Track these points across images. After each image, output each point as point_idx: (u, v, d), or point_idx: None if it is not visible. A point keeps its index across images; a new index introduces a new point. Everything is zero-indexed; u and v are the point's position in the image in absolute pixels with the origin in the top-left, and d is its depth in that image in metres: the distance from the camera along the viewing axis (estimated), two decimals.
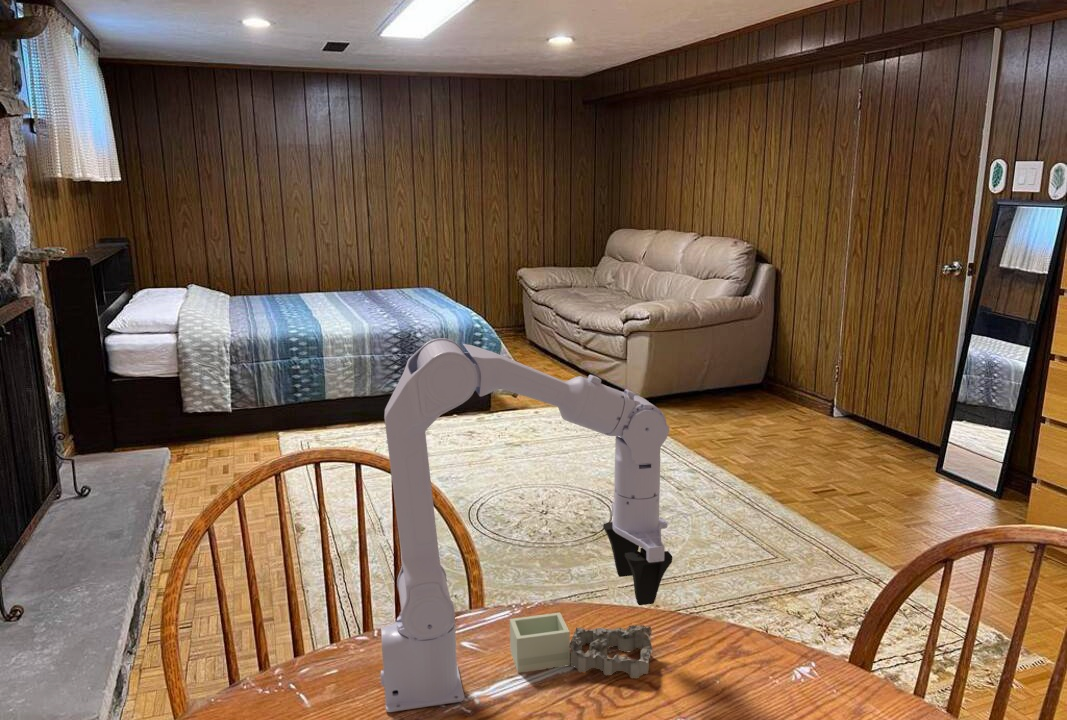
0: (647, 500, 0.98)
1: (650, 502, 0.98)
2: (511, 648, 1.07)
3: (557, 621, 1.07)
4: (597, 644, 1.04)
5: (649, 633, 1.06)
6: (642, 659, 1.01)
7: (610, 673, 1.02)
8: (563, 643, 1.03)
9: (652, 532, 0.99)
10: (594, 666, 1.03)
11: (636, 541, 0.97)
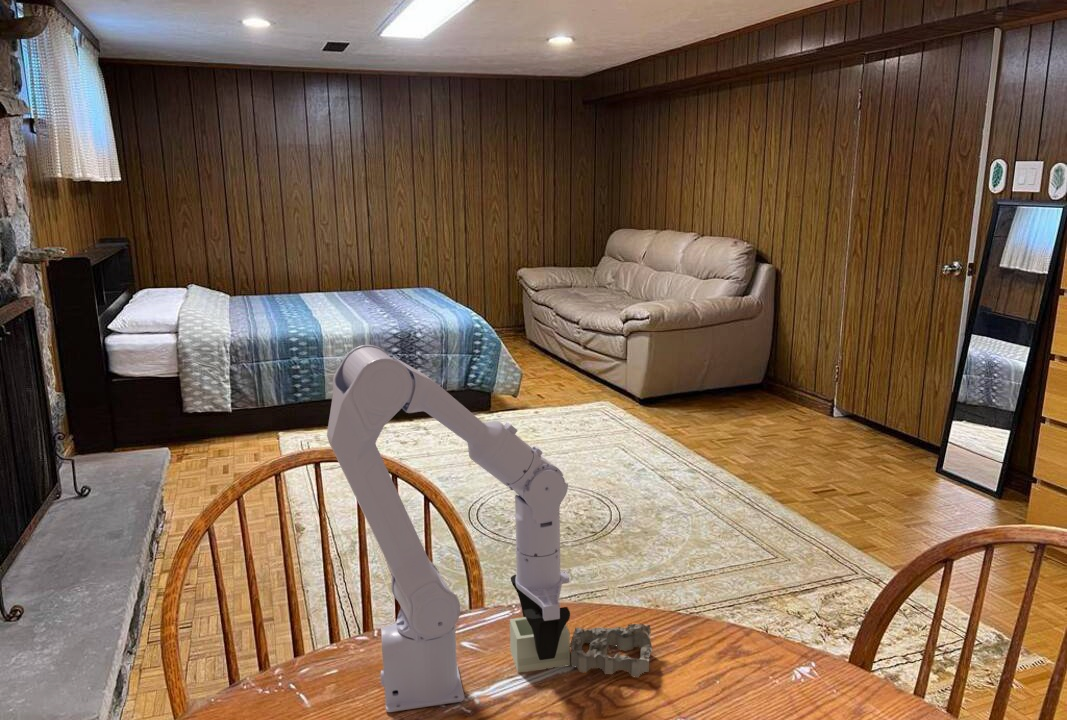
0: (545, 557, 1.00)
1: (549, 559, 1.00)
2: (511, 648, 1.07)
3: None
4: (597, 643, 1.04)
5: (648, 631, 1.06)
6: (643, 657, 1.01)
7: (611, 672, 1.02)
8: (563, 644, 1.03)
9: (552, 588, 1.01)
10: (595, 666, 1.04)
11: (534, 598, 0.99)
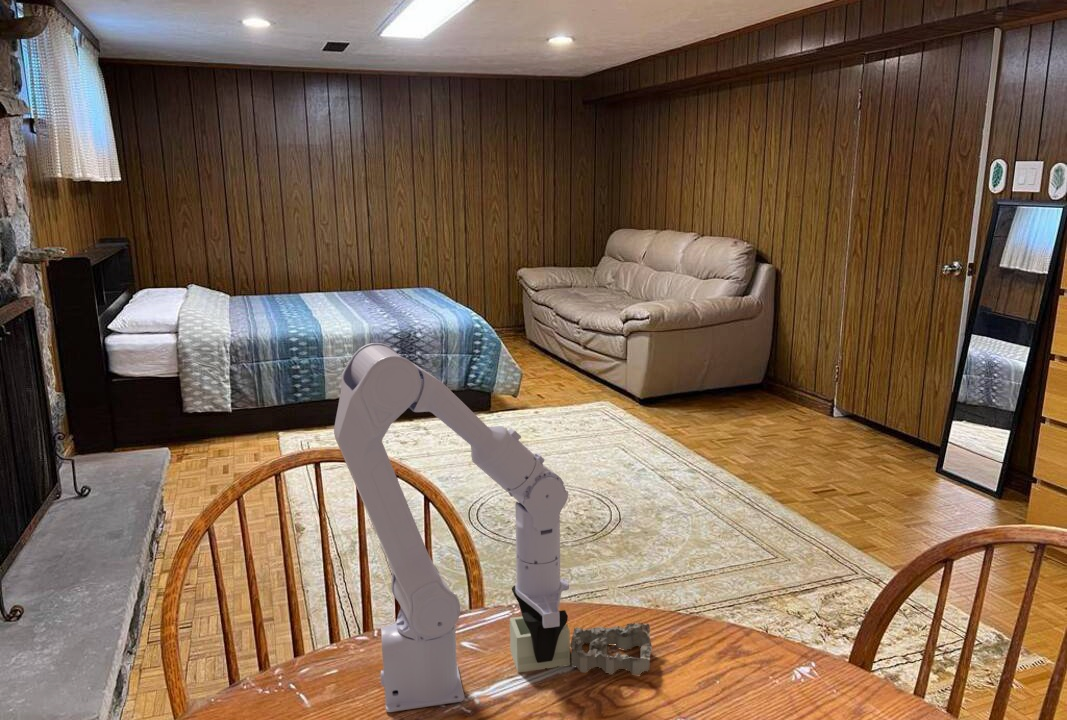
0: (545, 565, 1.00)
1: (549, 567, 1.00)
2: (511, 647, 1.07)
3: None
4: (597, 643, 1.04)
5: (647, 630, 1.07)
6: (644, 656, 1.01)
7: (612, 672, 1.02)
8: (563, 642, 1.03)
9: (552, 595, 1.01)
10: (595, 665, 1.04)
11: (534, 606, 0.99)
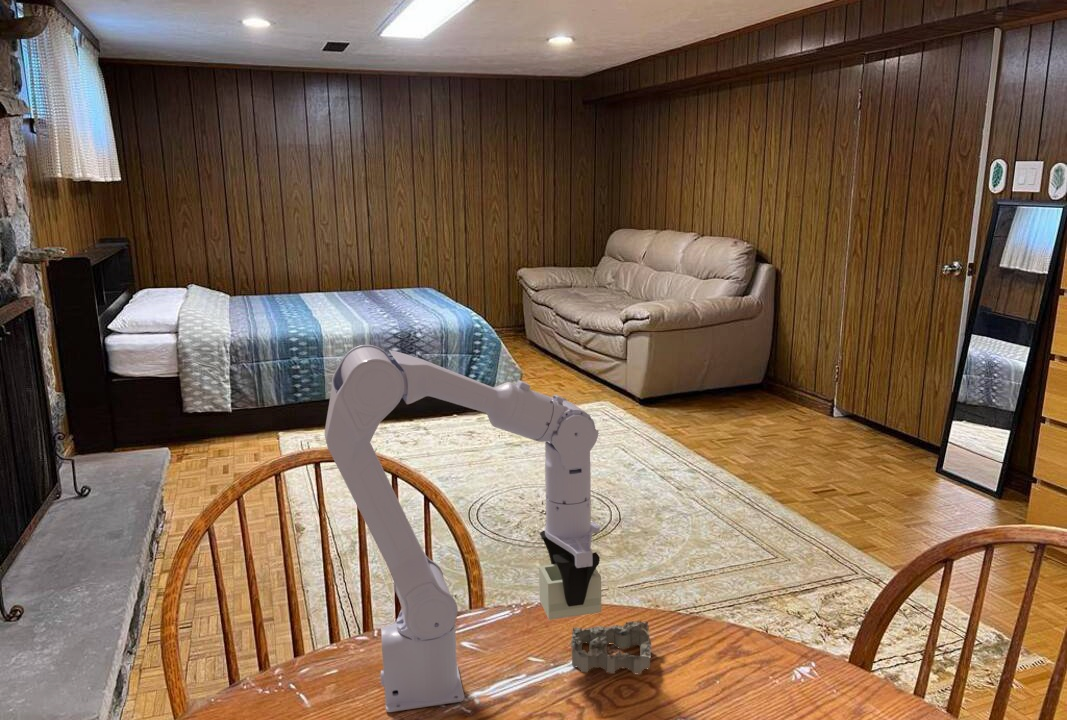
0: (577, 505, 0.98)
1: (580, 507, 0.98)
2: (541, 595, 1.05)
3: None
4: (598, 642, 1.04)
5: (646, 628, 1.07)
6: (645, 654, 1.02)
7: (613, 670, 1.02)
8: (595, 589, 1.01)
9: (583, 537, 0.99)
10: (596, 665, 1.04)
11: (565, 546, 0.97)
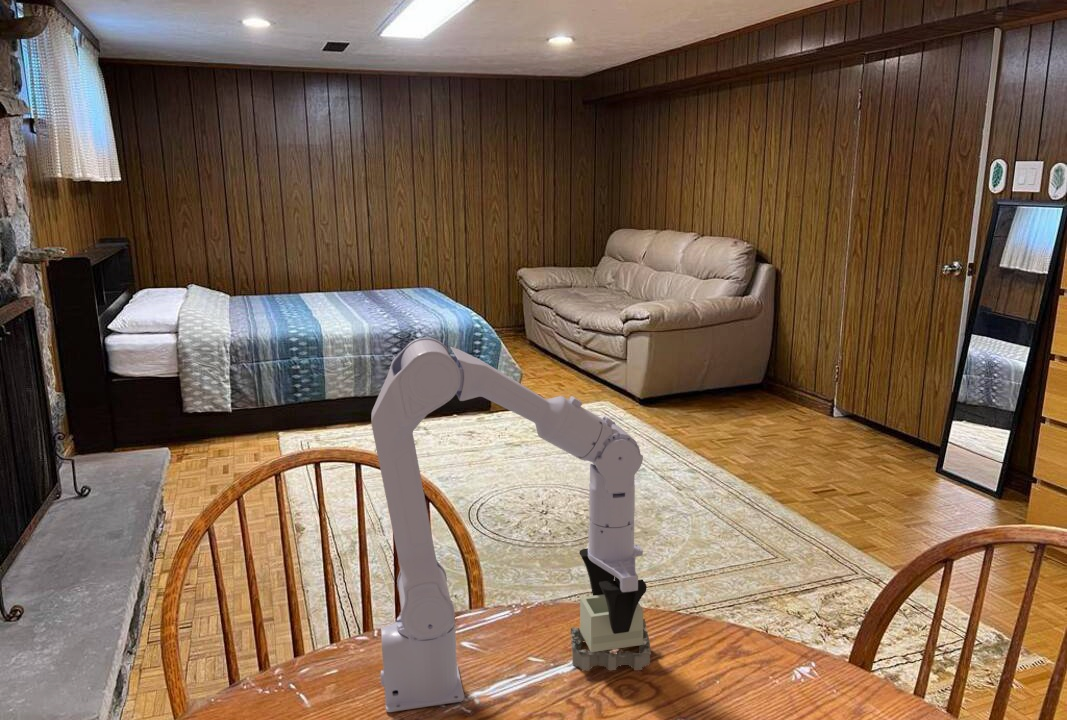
0: (621, 529, 0.98)
1: (624, 531, 0.98)
2: (581, 627, 1.05)
3: None
4: None
5: (644, 625, 1.08)
6: (645, 651, 1.03)
7: (614, 669, 1.03)
8: (637, 622, 1.02)
9: (627, 560, 0.99)
10: (596, 664, 1.04)
11: (610, 570, 0.97)
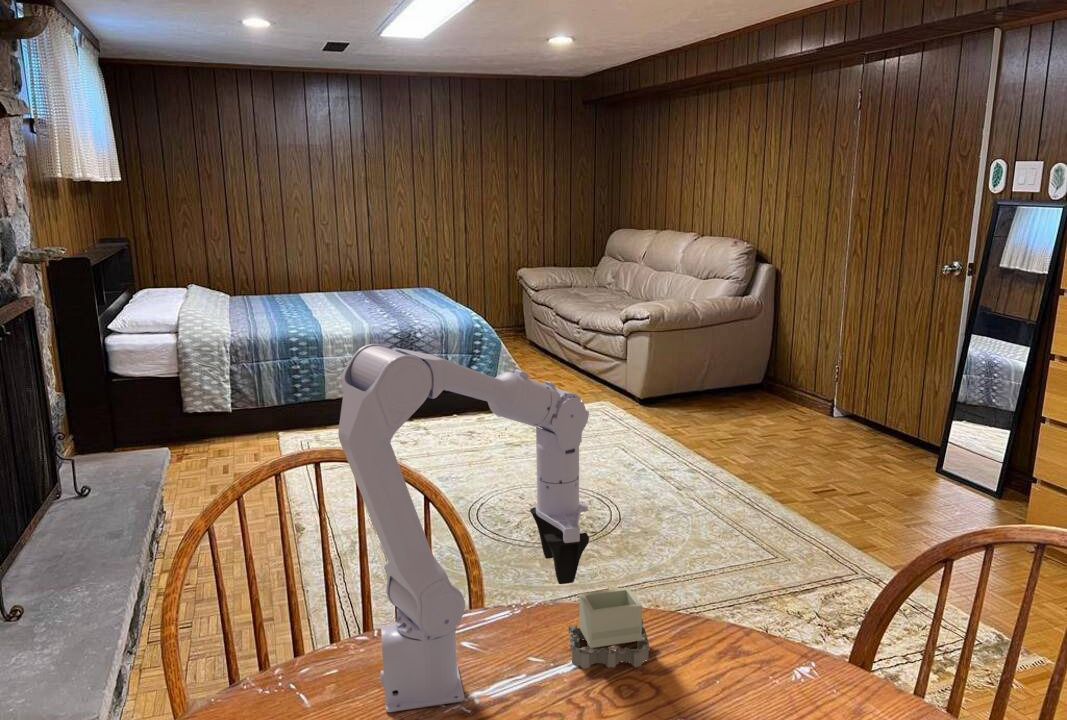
0: (566, 484, 1.04)
1: (569, 486, 1.04)
2: (581, 623, 1.06)
3: (626, 596, 1.07)
4: None
5: None
6: (644, 647, 1.04)
7: (614, 665, 1.04)
8: (636, 617, 1.03)
9: (571, 515, 1.05)
10: (596, 661, 1.05)
11: (554, 523, 1.03)
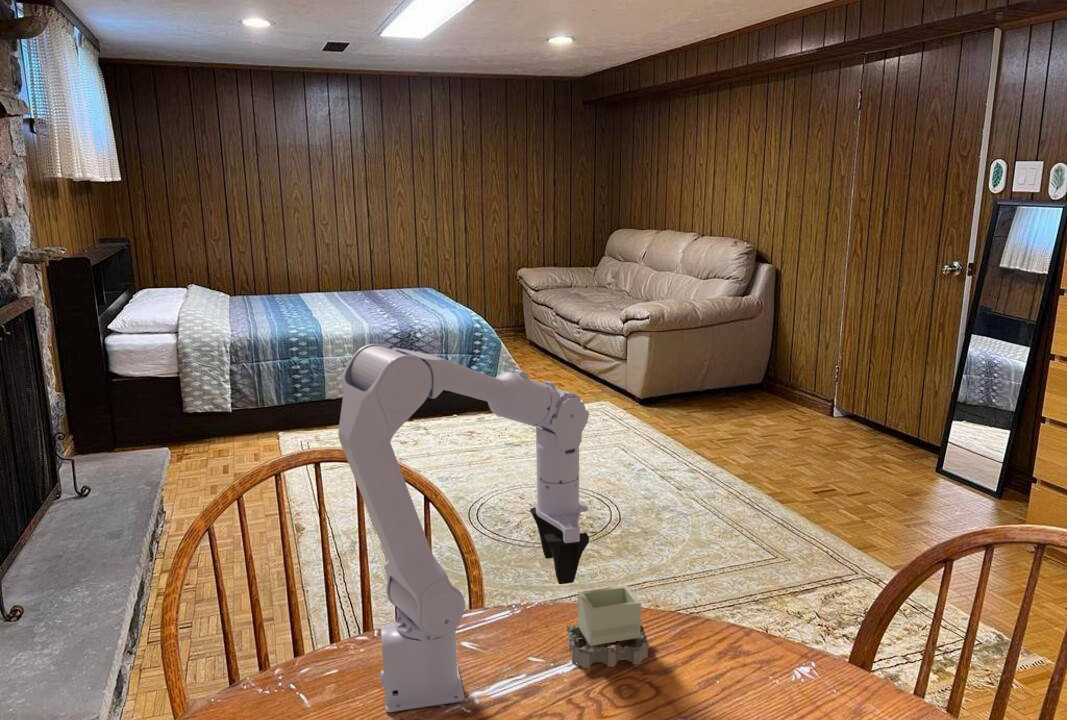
0: (566, 484, 1.04)
1: (569, 486, 1.04)
2: (579, 621, 1.06)
3: (624, 593, 1.07)
4: None
5: None
6: (644, 645, 1.04)
7: (614, 664, 1.04)
8: (635, 615, 1.04)
9: (571, 515, 1.05)
10: (596, 660, 1.05)
11: (554, 523, 1.03)
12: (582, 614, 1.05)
